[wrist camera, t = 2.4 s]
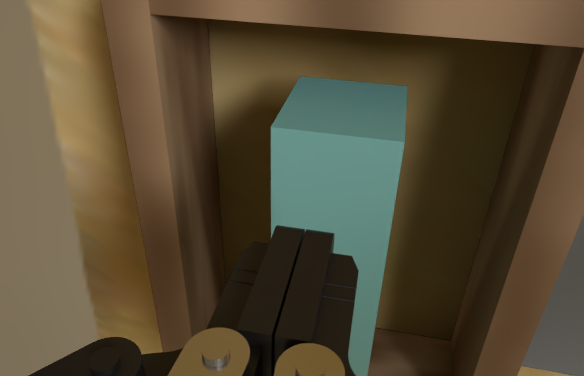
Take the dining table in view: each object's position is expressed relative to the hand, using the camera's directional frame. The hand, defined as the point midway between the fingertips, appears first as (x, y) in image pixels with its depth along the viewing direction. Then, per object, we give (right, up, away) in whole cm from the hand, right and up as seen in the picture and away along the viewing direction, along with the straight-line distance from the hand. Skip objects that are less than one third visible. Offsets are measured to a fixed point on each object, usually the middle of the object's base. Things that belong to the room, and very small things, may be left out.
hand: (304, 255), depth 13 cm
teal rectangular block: (+2, 0, +10) cm, 10 cm away
